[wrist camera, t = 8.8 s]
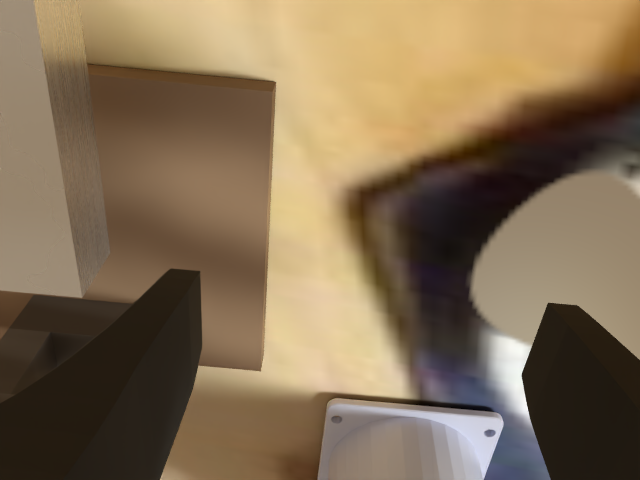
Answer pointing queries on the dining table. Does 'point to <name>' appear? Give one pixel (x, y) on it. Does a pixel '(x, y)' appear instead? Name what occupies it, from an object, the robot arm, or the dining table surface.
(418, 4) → the dining table surface
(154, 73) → the block
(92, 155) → the grey mallet
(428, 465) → the robot arm
